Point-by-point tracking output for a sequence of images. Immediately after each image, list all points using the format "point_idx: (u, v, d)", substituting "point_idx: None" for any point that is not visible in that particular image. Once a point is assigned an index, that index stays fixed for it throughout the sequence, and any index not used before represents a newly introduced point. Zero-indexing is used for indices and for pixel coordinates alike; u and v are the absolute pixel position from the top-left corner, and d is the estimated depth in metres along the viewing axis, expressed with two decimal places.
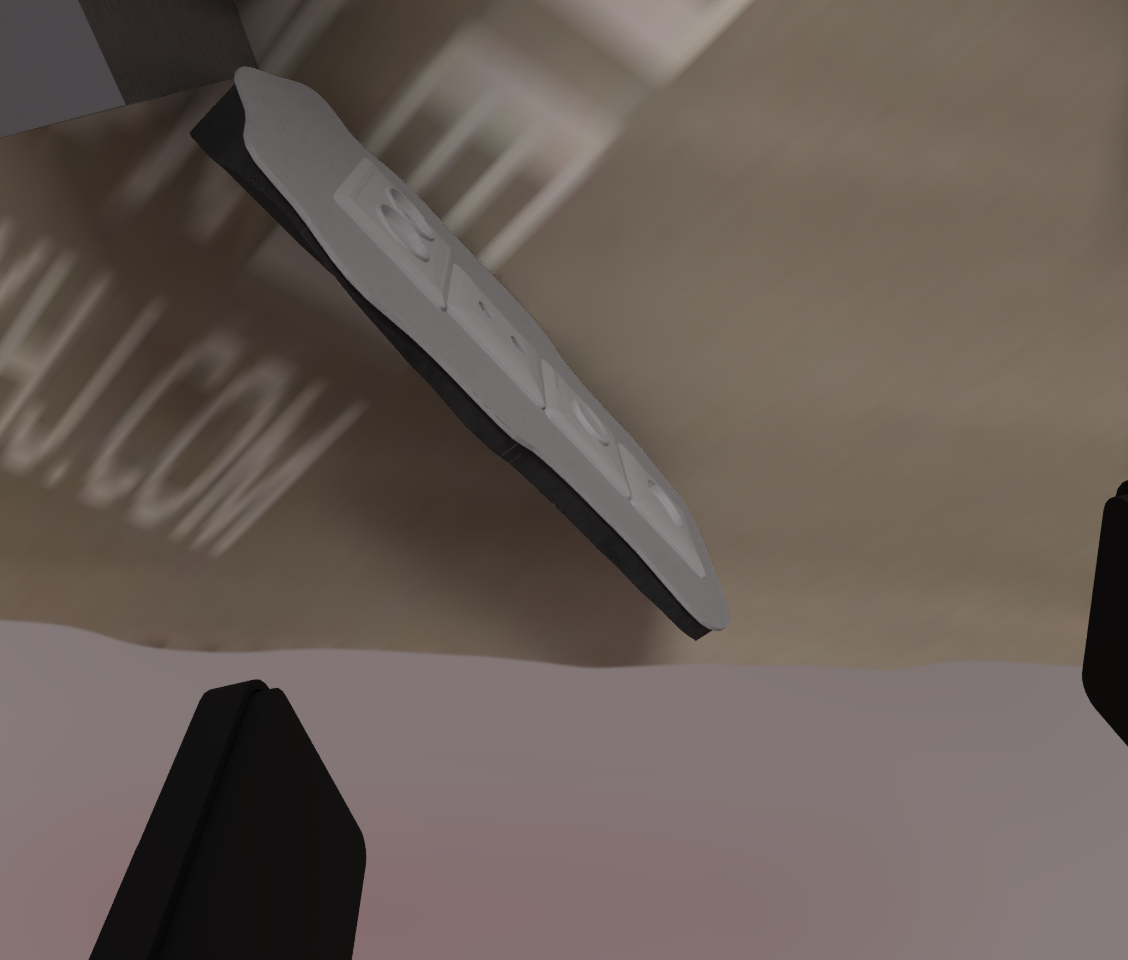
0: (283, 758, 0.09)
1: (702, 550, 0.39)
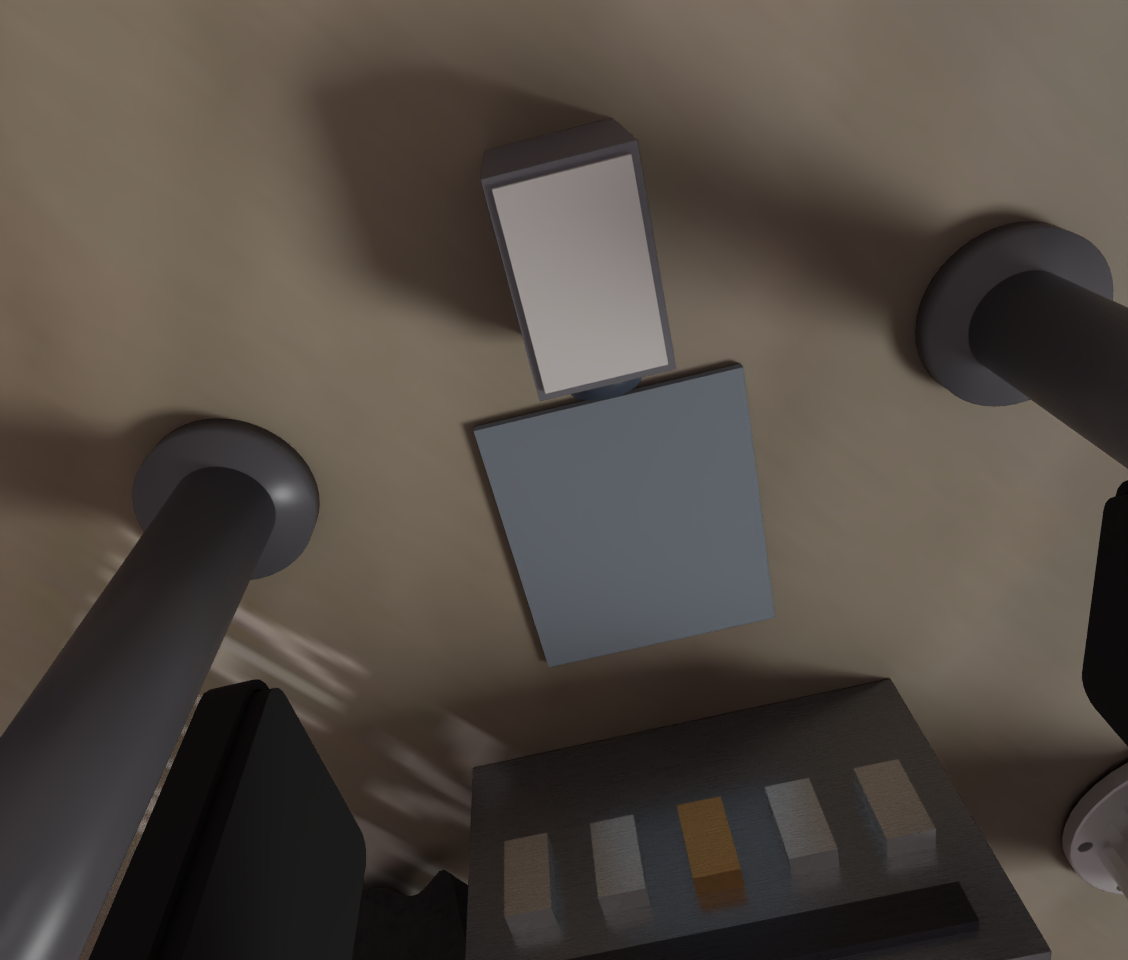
0: (284, 758, 0.09)
1: None
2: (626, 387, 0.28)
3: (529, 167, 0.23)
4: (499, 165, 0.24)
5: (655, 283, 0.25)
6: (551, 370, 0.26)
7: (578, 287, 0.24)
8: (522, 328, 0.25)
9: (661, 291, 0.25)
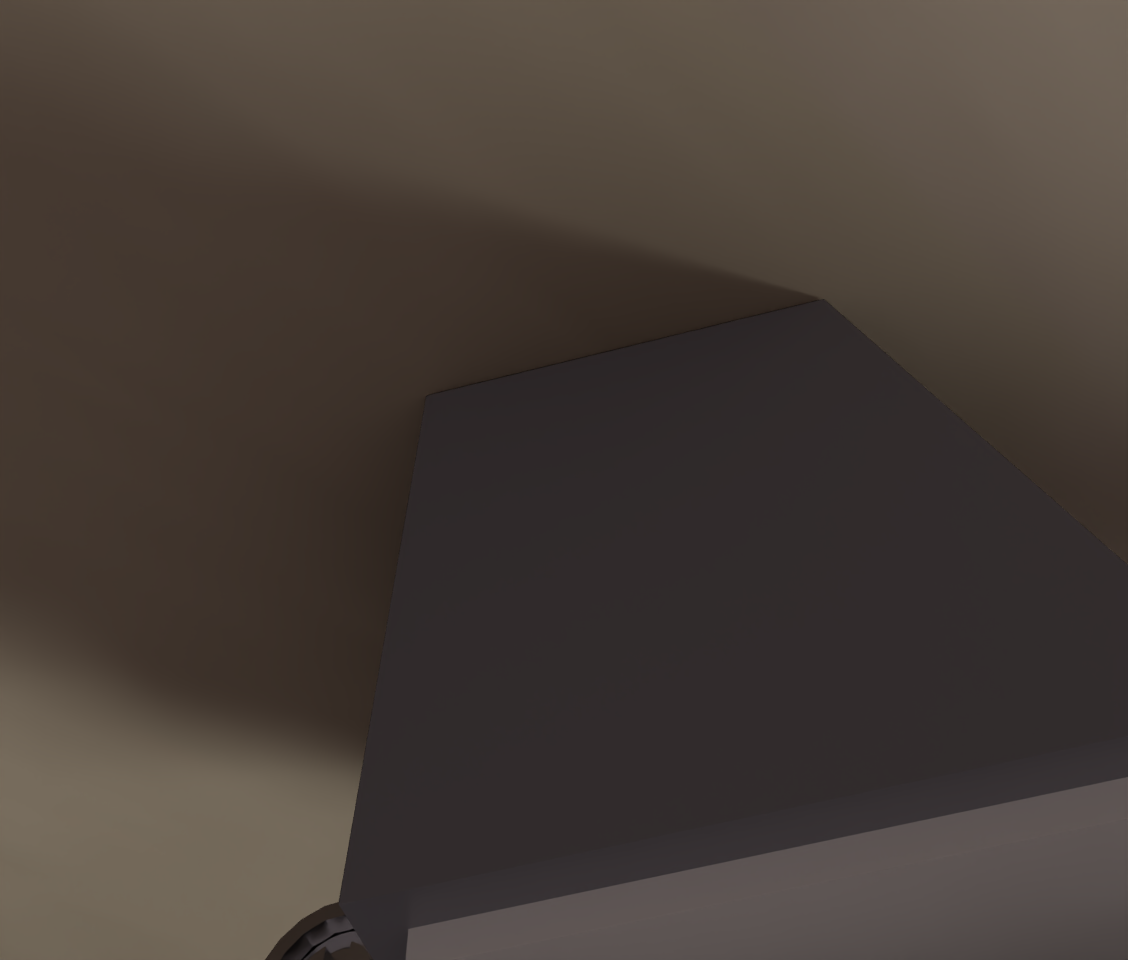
0: None
1: None
2: None
3: (623, 839, 0.04)
4: (459, 639, 0.05)
5: None
6: None
7: None
8: None
9: None
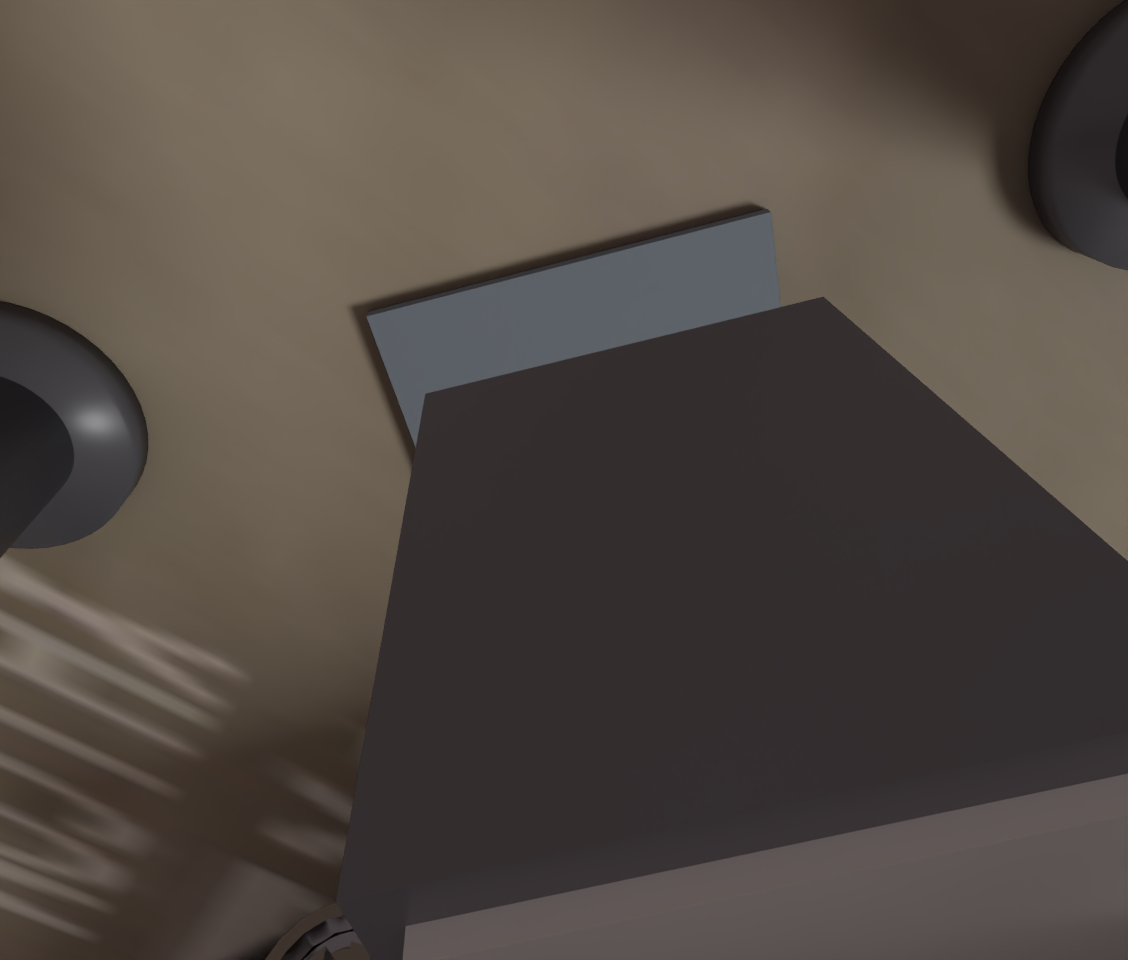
0: None
1: None
2: None
3: (621, 835, 0.04)
4: (457, 636, 0.05)
5: None
6: None
7: None
8: None
9: None
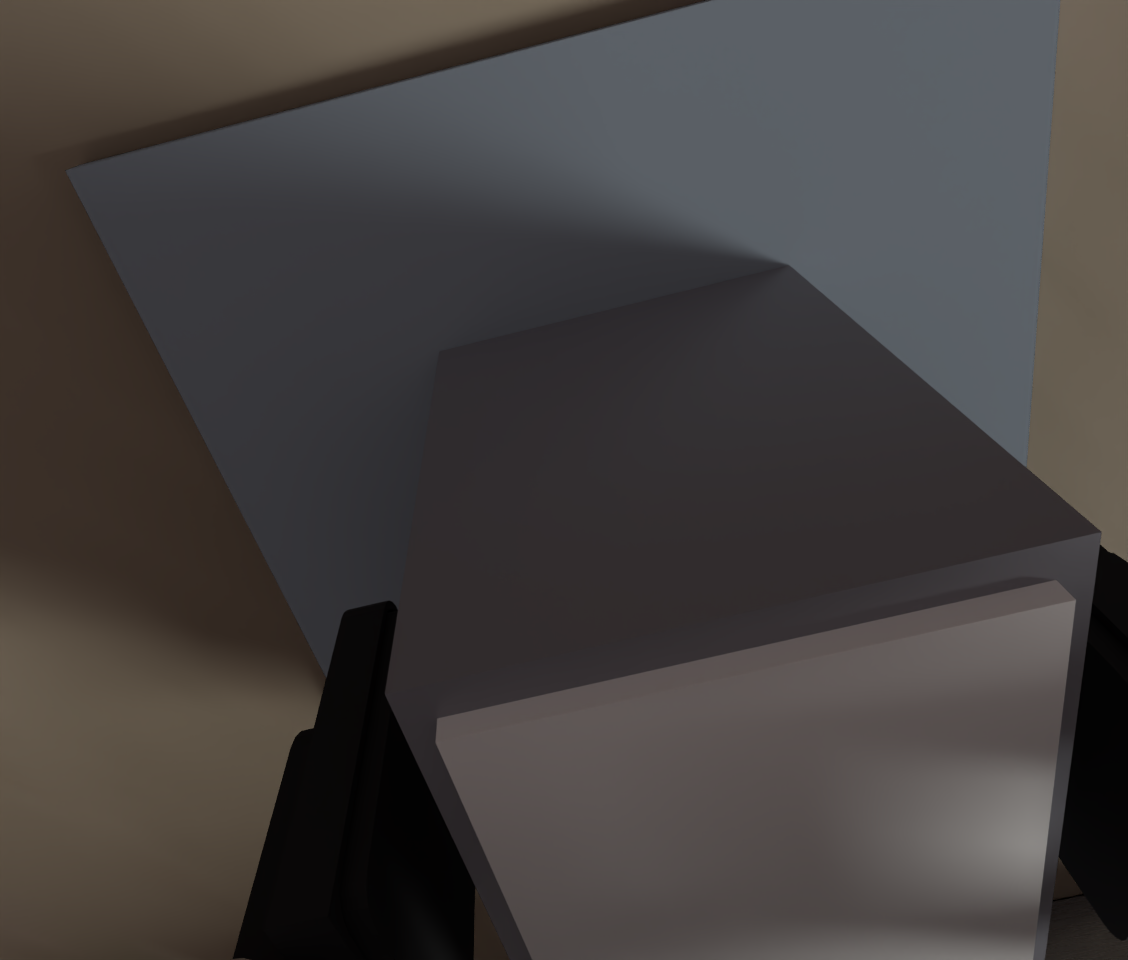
0: None
1: None
2: None
3: (602, 642, 0.05)
4: (473, 524, 0.07)
5: None
6: None
7: None
8: None
9: (1043, 940, 0.07)
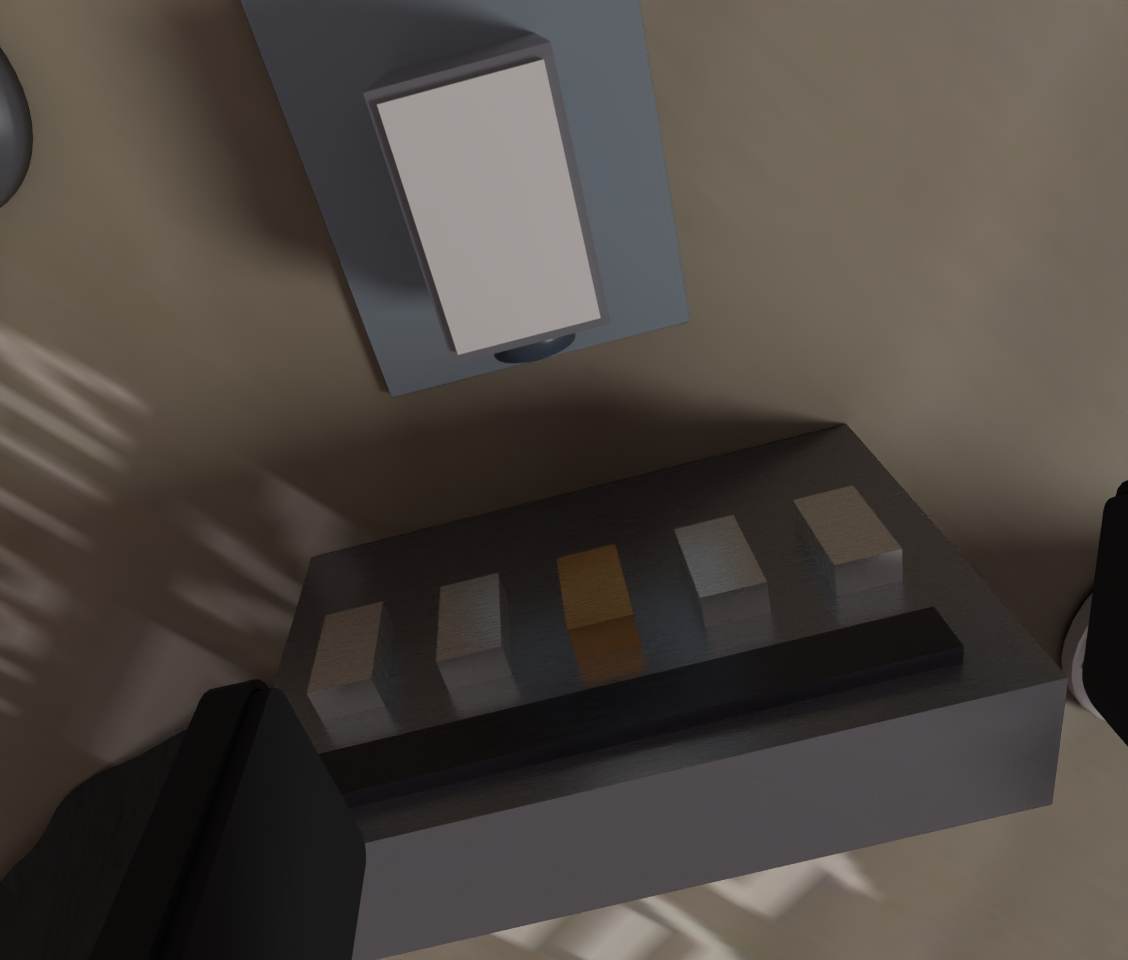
0: (283, 757, 0.09)
1: None
2: (557, 347, 0.24)
3: (421, 77, 0.19)
4: (391, 80, 0.20)
5: (581, 220, 0.21)
6: (463, 326, 0.22)
7: (489, 225, 0.21)
8: (426, 276, 0.21)
9: (588, 230, 0.21)
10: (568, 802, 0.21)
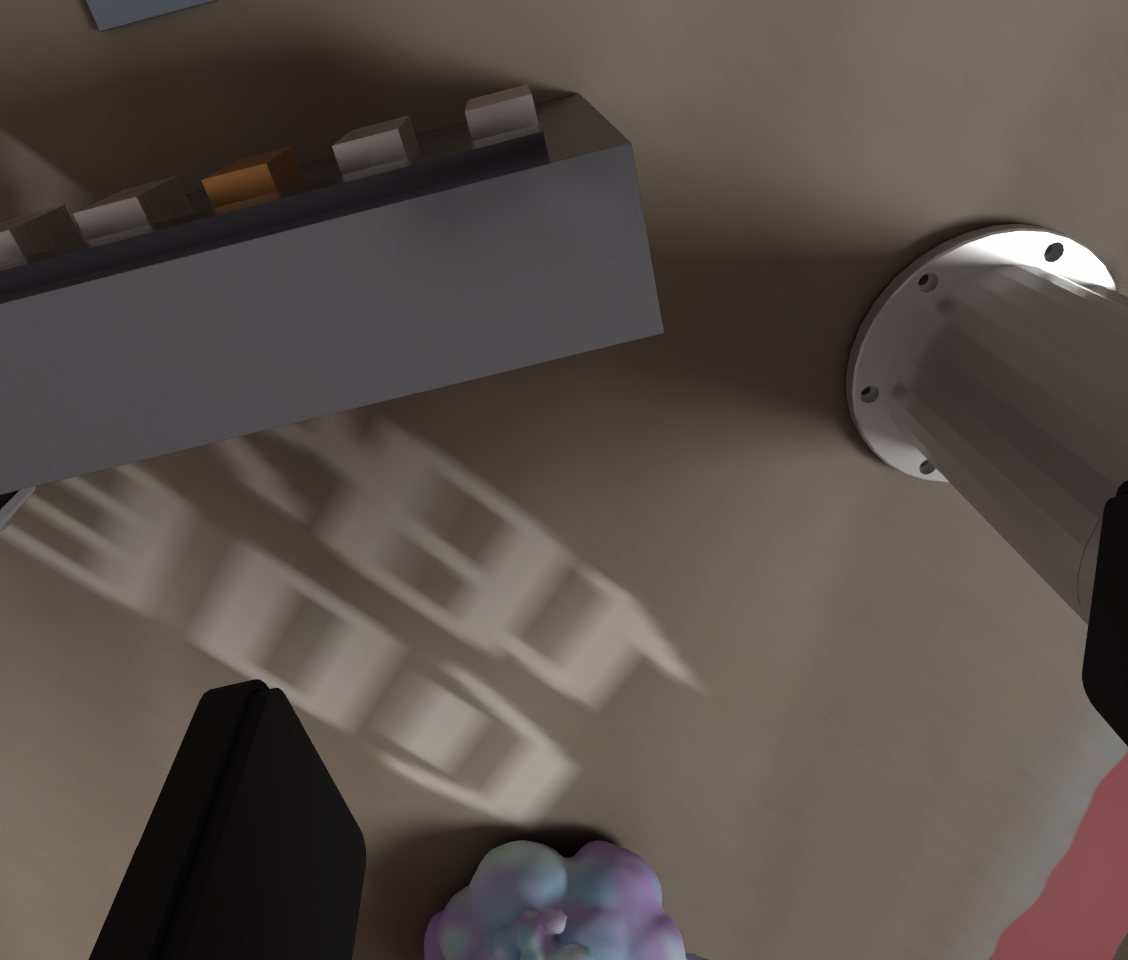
0: (283, 757, 0.09)
1: None
2: None
3: None
4: None
5: None
6: None
7: None
8: None
9: None
10: (139, 278, 0.21)
